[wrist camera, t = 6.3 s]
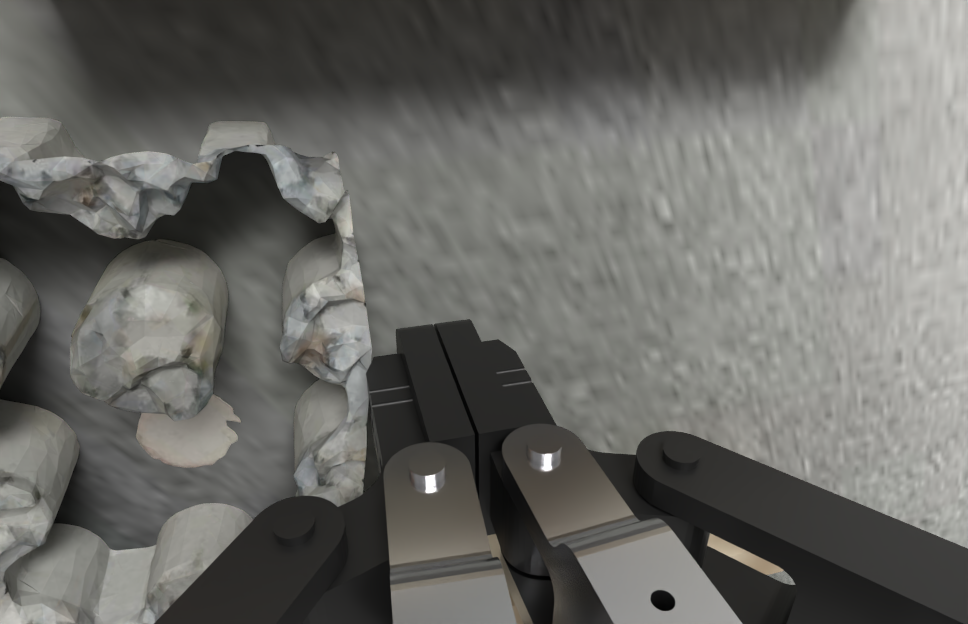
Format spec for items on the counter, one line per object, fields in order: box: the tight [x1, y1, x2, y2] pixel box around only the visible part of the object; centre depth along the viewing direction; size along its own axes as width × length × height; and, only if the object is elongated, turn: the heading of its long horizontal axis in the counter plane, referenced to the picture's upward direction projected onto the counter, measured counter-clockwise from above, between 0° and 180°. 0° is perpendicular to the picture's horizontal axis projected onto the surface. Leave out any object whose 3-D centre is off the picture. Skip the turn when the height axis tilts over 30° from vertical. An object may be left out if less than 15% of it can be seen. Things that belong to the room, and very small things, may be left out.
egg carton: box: [0, 117, 372, 624], centre depth 13 cm, size 11×8×4 cm
